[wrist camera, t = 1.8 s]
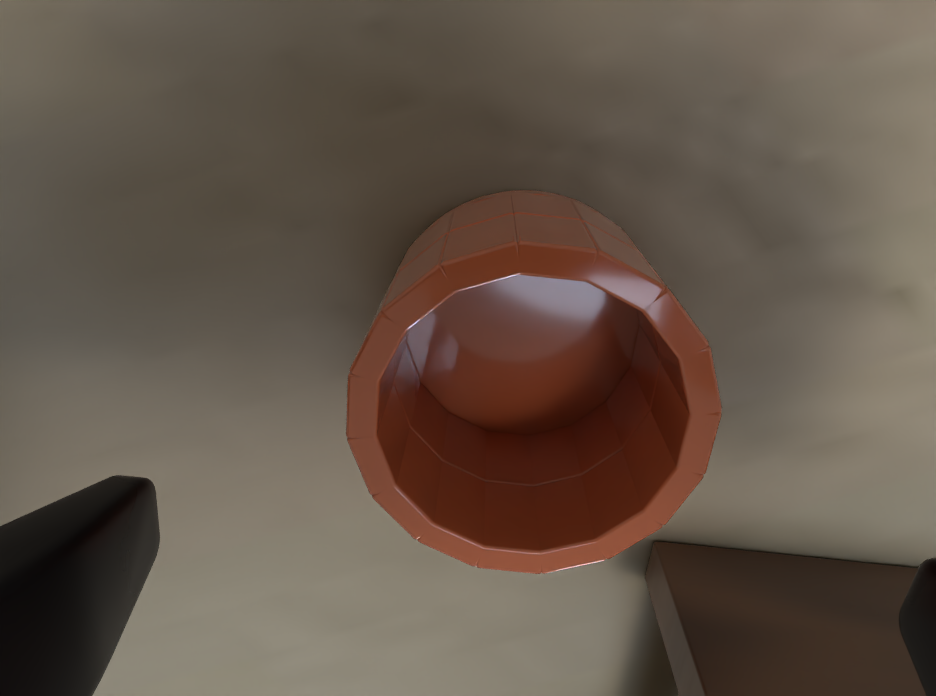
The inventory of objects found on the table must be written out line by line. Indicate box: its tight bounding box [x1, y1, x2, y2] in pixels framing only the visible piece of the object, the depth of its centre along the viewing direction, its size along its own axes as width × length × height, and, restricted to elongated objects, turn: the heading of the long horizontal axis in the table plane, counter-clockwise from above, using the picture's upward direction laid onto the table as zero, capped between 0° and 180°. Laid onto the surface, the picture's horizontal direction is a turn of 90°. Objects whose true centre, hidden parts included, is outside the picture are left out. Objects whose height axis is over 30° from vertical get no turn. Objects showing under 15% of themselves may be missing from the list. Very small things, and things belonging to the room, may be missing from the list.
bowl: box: [346, 190, 722, 574], centre depth 13 cm, size 6×6×4 cm
